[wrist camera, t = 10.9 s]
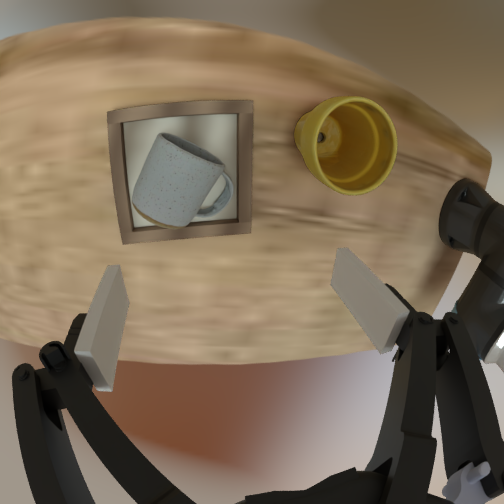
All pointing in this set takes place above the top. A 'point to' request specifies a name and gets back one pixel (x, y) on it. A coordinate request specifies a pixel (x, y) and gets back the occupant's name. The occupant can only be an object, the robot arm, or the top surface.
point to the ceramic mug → (178, 183)
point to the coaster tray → (195, 131)
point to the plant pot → (348, 144)
